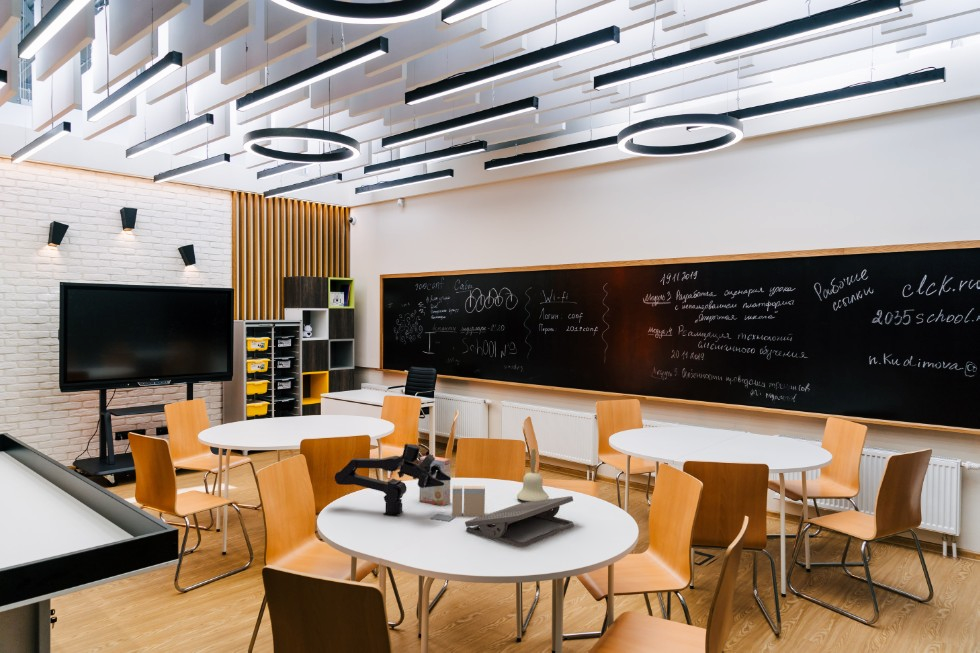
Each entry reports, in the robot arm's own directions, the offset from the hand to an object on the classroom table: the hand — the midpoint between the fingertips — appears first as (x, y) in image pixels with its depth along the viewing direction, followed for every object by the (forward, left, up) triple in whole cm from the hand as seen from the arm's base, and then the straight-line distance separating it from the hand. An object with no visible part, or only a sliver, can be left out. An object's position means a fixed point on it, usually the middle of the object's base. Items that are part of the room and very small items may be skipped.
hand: (447, 481), depth 271 cm
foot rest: (+33, +1, -17) cm, 37 cm away
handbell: (+26, +42, -16) cm, 52 cm away
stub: (+2, +7, -16) cm, 18 cm away
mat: (-2, 0, -16) cm, 16 cm away
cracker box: (-15, +20, -16) cm, 30 cm away
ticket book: (+9, +10, -16) cm, 21 cm away
